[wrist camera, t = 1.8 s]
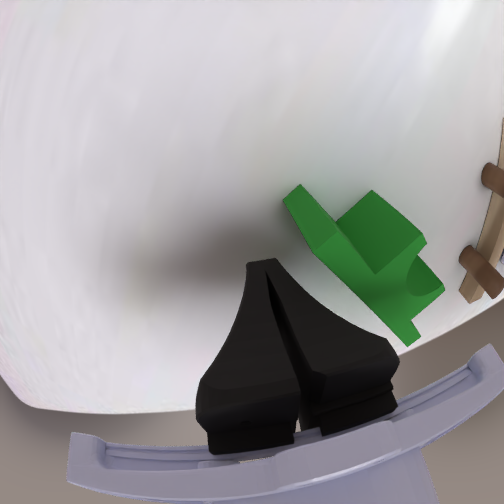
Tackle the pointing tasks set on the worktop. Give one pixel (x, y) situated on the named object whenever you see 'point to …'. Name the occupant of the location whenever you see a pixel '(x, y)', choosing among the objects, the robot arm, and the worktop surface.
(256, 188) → the worktop surface
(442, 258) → the worktop surface
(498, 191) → the peg rack
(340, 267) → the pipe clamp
